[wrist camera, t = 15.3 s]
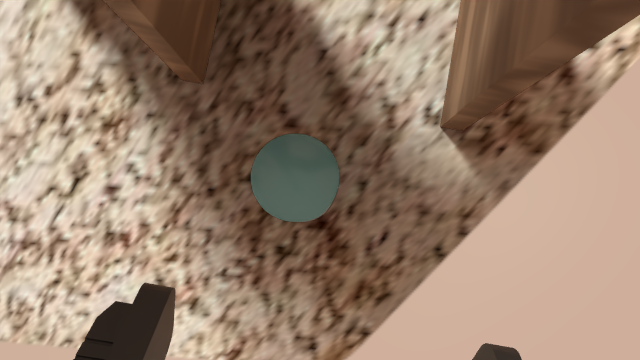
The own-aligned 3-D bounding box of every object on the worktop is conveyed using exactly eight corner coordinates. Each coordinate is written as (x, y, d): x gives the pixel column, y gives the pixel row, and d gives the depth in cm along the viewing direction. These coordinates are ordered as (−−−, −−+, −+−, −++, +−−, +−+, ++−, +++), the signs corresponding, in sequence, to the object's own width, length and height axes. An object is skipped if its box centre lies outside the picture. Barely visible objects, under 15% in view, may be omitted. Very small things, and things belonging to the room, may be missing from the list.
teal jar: (270, 216, 40) (242, 213, 26) (281, 159, 40) (260, 126, 26) (327, 226, 40) (330, 229, 26) (338, 169, 40) (346, 141, 26)
